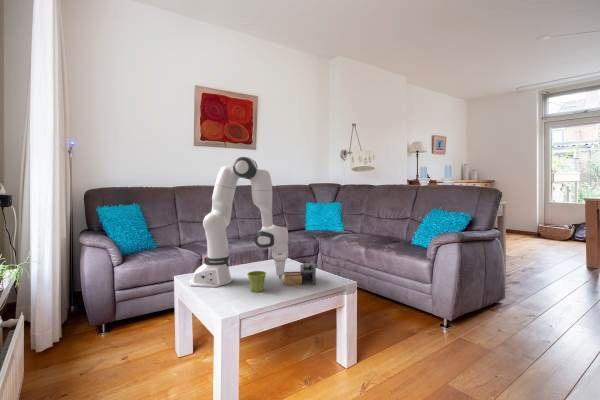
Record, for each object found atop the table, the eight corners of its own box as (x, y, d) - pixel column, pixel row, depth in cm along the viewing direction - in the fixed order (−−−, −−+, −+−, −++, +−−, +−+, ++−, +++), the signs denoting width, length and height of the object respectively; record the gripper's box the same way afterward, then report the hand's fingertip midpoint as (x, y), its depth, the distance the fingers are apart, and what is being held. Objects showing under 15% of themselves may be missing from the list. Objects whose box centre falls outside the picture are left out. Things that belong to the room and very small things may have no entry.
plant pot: (248, 287, 167) (248, 271, 167) (266, 286, 168) (266, 270, 168) (247, 293, 158) (246, 276, 157) (266, 293, 159) (266, 275, 158)
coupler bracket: (301, 285, 170) (301, 267, 169) (300, 278, 182) (300, 261, 182) (315, 285, 171) (315, 266, 170) (313, 278, 183) (313, 260, 182)
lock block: (285, 285, 171) (285, 275, 170) (283, 280, 179) (283, 271, 178) (301, 284, 172) (301, 275, 172) (299, 280, 180) (299, 270, 179)
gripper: (274, 249, 184) (274, 273, 185) (273, 258, 163) (274, 285, 164) (285, 249, 184) (285, 273, 185) (286, 258, 164) (286, 284, 165)
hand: (280, 278), depth 175 cm, fingers closed
